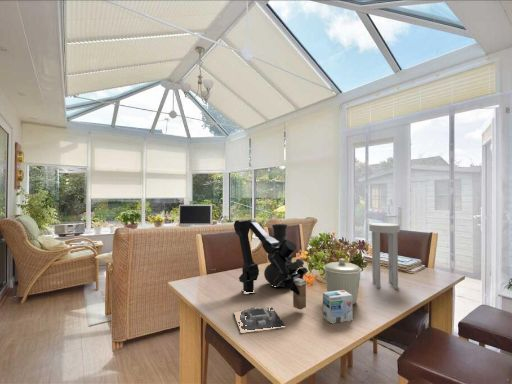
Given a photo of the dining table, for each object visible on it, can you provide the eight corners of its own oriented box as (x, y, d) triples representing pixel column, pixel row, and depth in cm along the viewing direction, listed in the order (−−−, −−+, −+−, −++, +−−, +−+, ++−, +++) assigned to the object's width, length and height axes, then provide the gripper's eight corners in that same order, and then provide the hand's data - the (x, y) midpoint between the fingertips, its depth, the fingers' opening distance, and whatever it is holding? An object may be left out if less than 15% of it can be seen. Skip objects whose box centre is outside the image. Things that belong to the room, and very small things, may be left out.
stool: (372, 288, 151) (372, 225, 152) (368, 279, 166) (367, 222, 167) (403, 290, 148) (402, 226, 148) (395, 281, 163) (395, 223, 163)
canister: (345, 292, 145) (344, 253, 145) (370, 305, 128) (370, 260, 128) (316, 297, 138) (315, 256, 138) (339, 312, 121) (338, 264, 121)
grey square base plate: (233, 313, 120) (233, 305, 120) (272, 309, 124) (272, 301, 124) (240, 333, 103) (240, 324, 103) (285, 328, 107) (285, 319, 107)
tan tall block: (293, 306, 121) (292, 280, 121) (298, 304, 124) (298, 278, 124) (300, 309, 118) (300, 282, 118) (306, 307, 121) (305, 280, 121)
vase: (302, 288, 152) (301, 225, 152) (272, 293, 145) (271, 227, 145) (286, 279, 169) (286, 222, 169) (259, 282, 162) (258, 224, 162)
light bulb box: (330, 324, 110) (330, 297, 110) (322, 317, 116) (321, 291, 116) (353, 320, 113) (353, 294, 113) (344, 314, 119) (343, 289, 119)
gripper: (278, 256, 118) (299, 288, 110) (304, 250, 131) (324, 278, 123) (265, 271, 123) (284, 302, 115) (291, 263, 136) (310, 291, 128)
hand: (302, 292), depth 120 cm, fingers closed on tan tall block, 4 cm apart
